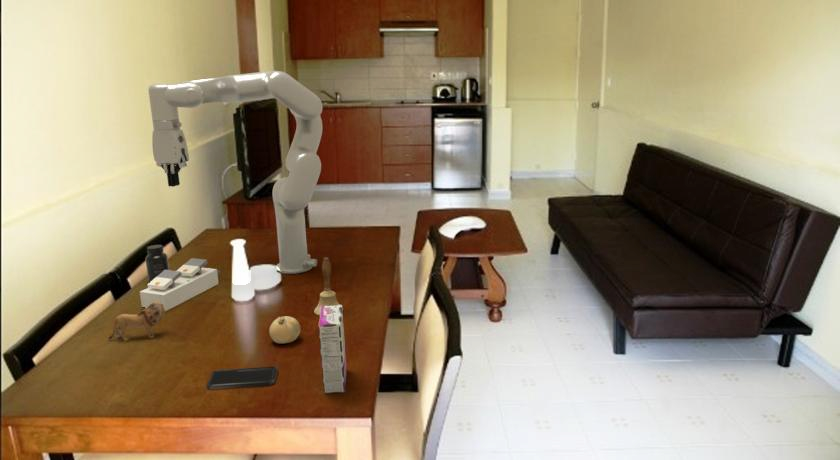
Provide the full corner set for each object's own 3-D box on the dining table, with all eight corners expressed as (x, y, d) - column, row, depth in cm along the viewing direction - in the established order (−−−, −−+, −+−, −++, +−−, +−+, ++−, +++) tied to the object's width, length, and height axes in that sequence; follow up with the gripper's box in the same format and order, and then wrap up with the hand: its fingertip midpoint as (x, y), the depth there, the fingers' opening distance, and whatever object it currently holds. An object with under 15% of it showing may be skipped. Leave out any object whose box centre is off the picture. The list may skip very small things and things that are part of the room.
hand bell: (326, 303, 193) (322, 252, 189) (348, 308, 189) (345, 256, 185) (308, 313, 186) (304, 260, 182) (331, 318, 182) (327, 264, 178)
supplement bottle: (174, 278, 219) (170, 243, 215) (164, 285, 212) (160, 249, 209) (155, 277, 219) (150, 243, 216) (144, 284, 213) (139, 249, 210)
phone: (273, 382, 146) (205, 386, 145) (274, 386, 147) (206, 391, 146) (278, 366, 154) (213, 369, 153) (278, 370, 154) (213, 374, 153)
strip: (230, 277, 217) (228, 261, 216) (166, 311, 190) (163, 292, 189) (208, 275, 221) (206, 258, 219) (142, 307, 194) (139, 289, 192)
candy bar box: (325, 370, 153) (320, 305, 148) (347, 369, 153) (343, 303, 149) (322, 394, 142) (317, 325, 138) (345, 393, 142) (341, 323, 138)
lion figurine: (167, 328, 179) (163, 297, 176) (167, 336, 174) (163, 304, 171) (109, 337, 174) (103, 306, 171) (107, 345, 169) (101, 313, 166)
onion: (267, 337, 172) (265, 312, 170) (297, 332, 174) (295, 307, 172) (273, 349, 164) (270, 323, 162) (304, 343, 167) (302, 318, 165)
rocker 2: (208, 264, 209) (206, 259, 208) (192, 278, 202) (190, 272, 201) (193, 262, 211) (191, 257, 210) (177, 276, 204) (175, 270, 204)
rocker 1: (182, 276, 198) (180, 271, 197) (165, 291, 192) (163, 286, 191) (166, 274, 200) (164, 269, 199) (149, 289, 194) (147, 283, 193)
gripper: (195, 124, 197) (201, 184, 202) (156, 124, 203) (163, 182, 208) (177, 127, 191) (185, 189, 196) (137, 126, 196) (146, 186, 201)
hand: (174, 185), depth 202 cm, fingers closed
